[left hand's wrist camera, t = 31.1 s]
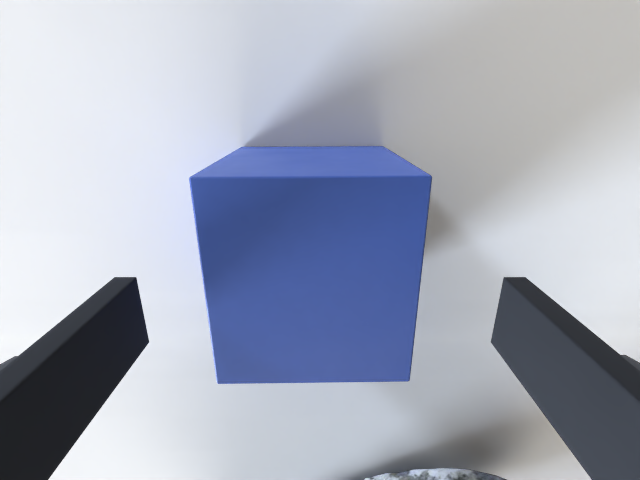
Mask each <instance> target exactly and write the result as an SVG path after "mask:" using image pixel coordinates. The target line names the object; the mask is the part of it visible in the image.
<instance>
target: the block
mask: <svg viewBox="0 0 640 480" xmlns="http://www.w3.org/2000/svg"><path fill="white" fill-rule="evenodd" d="M189 181H190V188H191V196H192V203H193V210H194V218H195V225H196V232H197V240H198V247H199V254H200V262H201V269H202V277H203V284H204V291H205V299H206V306H207V313H208V321H209V328H210V336H211V343H212V350H213V358H214V365H215V372H216V380H217V383H218V384H236V383H315V382H393V381H409V380H410V372H411V363H412V354H413V345H414V336H415V327H416V318H417V309H418V300H419V291H420V282H421V273H422V264H423V255H424V245H425V236H426V227H427V218H428V209H429V200H430V191H431V182H432V176H431V175H429V174H427V173H426V172H424V171H423V170H421V169H419V168H418V167H416V166H414V165H413V164H411V163H410V162H408V161H406V160H405V159H403V158H401V157H400V156H398V155H396V154H395V153H393V152H392V151H390V150H388V149H387V148H385V147H383V146H336V147H241V148H239V149H237V150H236V151H234V152H232V153H231V154H229V155H227V156H225V157H224V158H222V159H220V160H219V161H217V162H215V163H213V164H212V165H210V166H208V167H207V168H205V169H203V170H201V171H200V172H198V173H196V174H195V175H193V176H191V177H190V178H189Z"/></svg>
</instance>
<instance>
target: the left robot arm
mask: <svg viewBox="0 0 640 480" xmlns="http://www.w3.org/2000/svg"><path fill="white" fill-rule="evenodd" d="M148 343H149V339H148V334H147V329H146V324H145V319H144V314H143V309H142V304H141V299H140V294H139V289H138V284H137V279H136V277H114V278H113V279H112V280H111V281H110V282H108V283H107V284H106V285H105V286H103V287H102V288H101V289H100V290H99V291H97V292H96V293H95V294H94V295H92V296H91V297H90V298H89V299H88V300H86V301H85V302H84V303H83V304H81V305H80V306H79V307H78V308H77V309H75V310H74V311H73V312H72V313H71V314H69V315H68V316H67V317H66V318H64V319H63V320H62V321H61V322H60V323H58V324H57V325H56V326H55V327H53V328H52V329H51V330H50V331H49V332H47V333H46V334H45V335H44V336H42V337H41V338H40V339H39V340H38V341H36V342H35V343H34V344H33V345H31V346H30V347H29V348H28V349H27V350H25V351H24V352H23V353H22V354H20V355H19V356H15V357H13V358H11V359H9V360H7V361H5V362H4V363H2V364H0V480H48V479H49V478H50V476H51V475H52V474H53V472H54V471H55V470H56V468H57V467H58V465H59V464H60V463H61V461H62V460H63V459H64V457H65V456H66V455H67V453H68V452H69V450H70V449H71V448H72V446H73V445H74V444H75V442H76V441H77V440H78V438H79V437H80V435H81V434H82V433H83V431H84V430H85V429H86V427H87V426H88V425H89V423H90V422H91V420H92V419H93V418H94V416H95V415H96V414H97V412H98V411H99V410H100V408H101V407H102V405H103V404H104V403H105V401H106V400H107V399H108V397H109V396H110V395H111V393H112V392H113V391H114V389H115V388H116V386H117V385H118V384H119V382H120V381H121V380H122V378H123V377H124V376H125V374H126V373H127V371H128V370H129V369H130V367H131V366H132V365H133V363H134V362H135V361H136V359H137V358H138V356H139V355H140V354H141V352H142V351H143V350H144V348H145V347H146V346H147V344H148ZM491 343H492V344H493V346H494V347H495V348H496V350H497V351H498V352H499V354H500V355H501V356H502V358H503V359H504V361H505V362H506V363H507V365H508V366H509V367H510V369H511V370H512V371H513V373H514V374H515V376H516V377H517V378H518V380H519V381H520V382H521V384H522V385H523V386H524V388H525V389H526V391H527V392H528V393H529V395H530V396H531V397H532V399H533V400H534V401H535V403H536V404H537V406H538V407H539V408H540V410H541V411H542V412H543V414H544V415H545V416H546V418H547V419H548V420H549V422H550V423H551V425H552V426H553V427H554V429H555V430H556V431H557V433H558V434H559V435H560V437H561V438H562V440H563V441H564V442H565V444H566V445H567V446H568V448H569V449H570V450H571V452H572V453H573V455H574V456H575V457H576V459H577V460H578V461H579V463H580V464H581V465H582V467H583V468H584V470H585V471H586V472H587V474H588V475H589V476H590V478H591V479H592V480H640V363H639V362H637V361H635V360H634V359H632V358H630V357H628V356H626V355H620V354H618V353H617V352H616V351H615V350H613V349H612V348H611V347H610V346H609V345H607V344H606V343H605V342H604V341H602V340H601V339H600V338H599V337H598V336H596V335H595V334H594V333H593V332H591V331H590V330H589V329H588V328H587V327H585V326H584V325H583V324H582V323H580V322H579V321H578V320H577V319H576V318H574V317H573V316H572V315H571V314H569V313H568V312H567V311H566V310H565V309H563V308H562V307H561V306H560V305H559V304H557V303H556V302H555V301H554V300H552V299H551V298H550V297H549V296H548V295H546V294H545V293H544V292H543V291H541V290H540V289H539V288H538V287H537V286H535V285H534V284H533V283H532V282H530V281H529V280H528V279H527V278H526V277H504V279H503V284H502V289H501V294H500V299H499V304H498V309H497V314H496V319H495V324H494V329H493V334H492V339H491Z"/></svg>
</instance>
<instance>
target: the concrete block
mask: <svg viewBox="0 0 640 480" xmlns="http://www.w3.org/2000/svg"><path fill="white" fill-rule="evenodd" d="M364 480H506V479H504V478H501V477H499V476H496V475H492V474H487V473H483V472H478V471H473V470H468V469H450V468H437V469H414V470H409V471H405V472H401V473H385V474H381V475H377V476H374V477H371V478H365V479H364Z"/></svg>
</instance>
